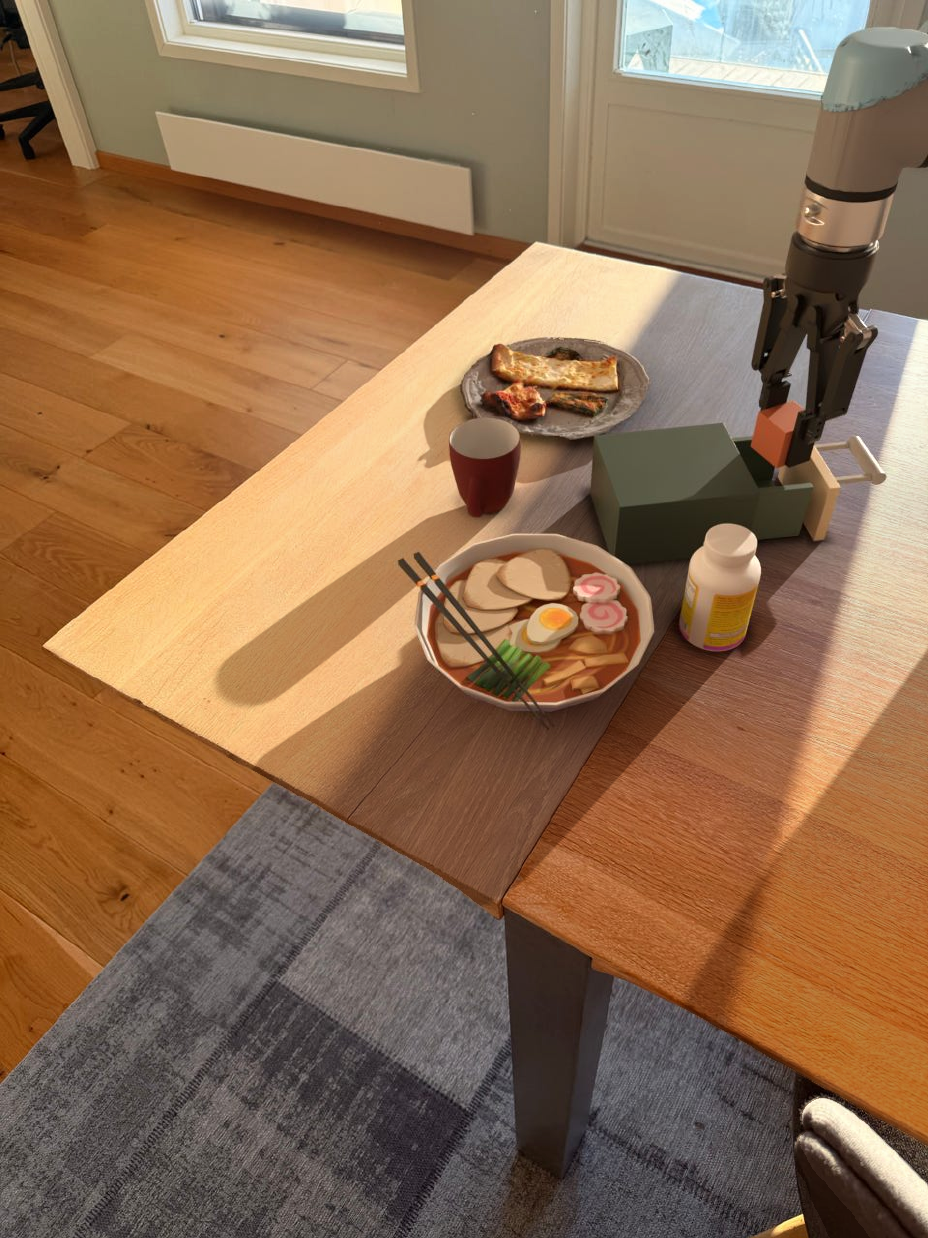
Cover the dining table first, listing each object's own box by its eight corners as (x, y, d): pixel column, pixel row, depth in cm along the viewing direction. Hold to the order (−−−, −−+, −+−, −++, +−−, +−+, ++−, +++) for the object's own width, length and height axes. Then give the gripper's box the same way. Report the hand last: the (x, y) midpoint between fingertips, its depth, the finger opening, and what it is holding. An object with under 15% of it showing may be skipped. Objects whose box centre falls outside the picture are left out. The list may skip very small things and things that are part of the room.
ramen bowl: (702, 697, 87) (715, 640, 81) (499, 804, 80) (498, 750, 74) (557, 550, 103) (560, 493, 97) (376, 629, 95) (367, 572, 90)
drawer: (838, 471, 109) (855, 419, 103) (879, 534, 101) (899, 481, 95) (675, 488, 108) (683, 436, 102) (703, 553, 100) (713, 500, 94)
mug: (517, 544, 104) (516, 474, 96) (447, 542, 104) (441, 472, 97) (522, 486, 111) (522, 417, 103) (457, 485, 112) (452, 416, 104)
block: (810, 456, 97) (821, 421, 94) (776, 468, 96) (785, 433, 93) (783, 435, 100) (792, 399, 97) (750, 446, 99) (758, 411, 96)
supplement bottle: (757, 632, 93) (783, 538, 83) (719, 668, 90) (742, 574, 80) (702, 601, 96) (722, 506, 87) (664, 634, 93) (680, 540, 84)
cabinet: (710, 487, 109) (723, 422, 102) (744, 558, 100) (760, 492, 94) (589, 499, 108) (594, 435, 102) (612, 572, 100) (619, 507, 93)
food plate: (438, 431, 120) (437, 408, 117) (490, 342, 135) (490, 320, 132) (626, 460, 113) (629, 436, 111) (659, 364, 128) (661, 341, 126)
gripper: (741, 208, 86) (704, 418, 102) (873, 284, 74) (807, 505, 91) (805, 192, 88) (758, 400, 104) (943, 263, 76) (865, 483, 93)
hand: (781, 449), depth 98 cm, fingers closed on block, 4 cm apart
